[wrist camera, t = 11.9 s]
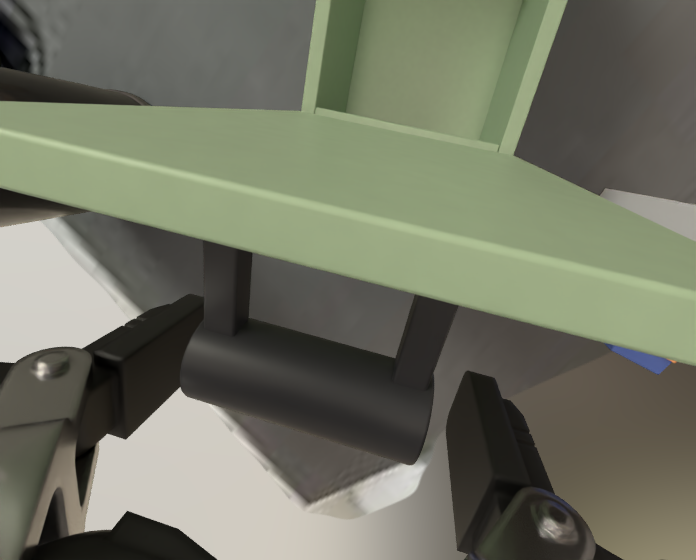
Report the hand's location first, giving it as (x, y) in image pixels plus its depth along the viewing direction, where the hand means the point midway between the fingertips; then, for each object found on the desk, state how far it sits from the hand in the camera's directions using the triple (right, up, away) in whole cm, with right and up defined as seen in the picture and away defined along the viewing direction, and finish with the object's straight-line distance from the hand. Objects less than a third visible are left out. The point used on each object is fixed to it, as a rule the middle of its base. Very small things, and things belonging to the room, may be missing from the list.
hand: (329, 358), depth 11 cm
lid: (+2, +7, 0) cm, 7 cm away
